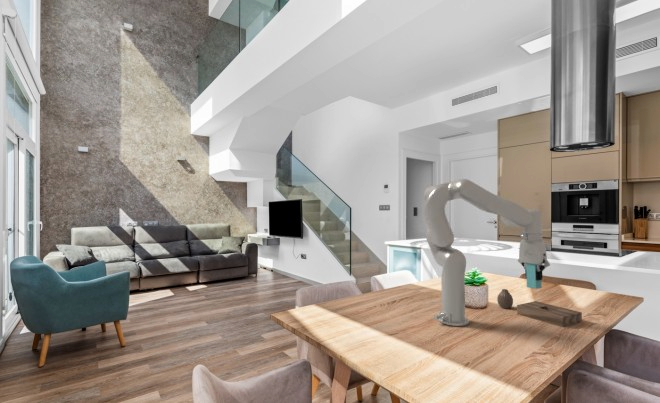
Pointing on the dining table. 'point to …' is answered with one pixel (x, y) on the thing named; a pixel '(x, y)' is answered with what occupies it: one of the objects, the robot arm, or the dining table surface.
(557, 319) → the socket block
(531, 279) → the peg
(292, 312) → the dining table surface
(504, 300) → the vase
